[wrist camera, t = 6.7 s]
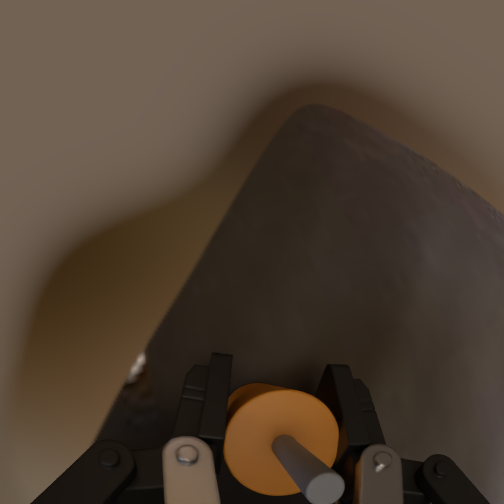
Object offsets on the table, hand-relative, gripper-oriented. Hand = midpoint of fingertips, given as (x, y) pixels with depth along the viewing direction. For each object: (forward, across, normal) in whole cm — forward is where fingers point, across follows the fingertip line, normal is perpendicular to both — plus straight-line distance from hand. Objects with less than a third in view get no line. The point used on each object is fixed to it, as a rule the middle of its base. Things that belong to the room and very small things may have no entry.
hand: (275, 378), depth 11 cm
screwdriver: (+2, 0, +5) cm, 5 cm away
